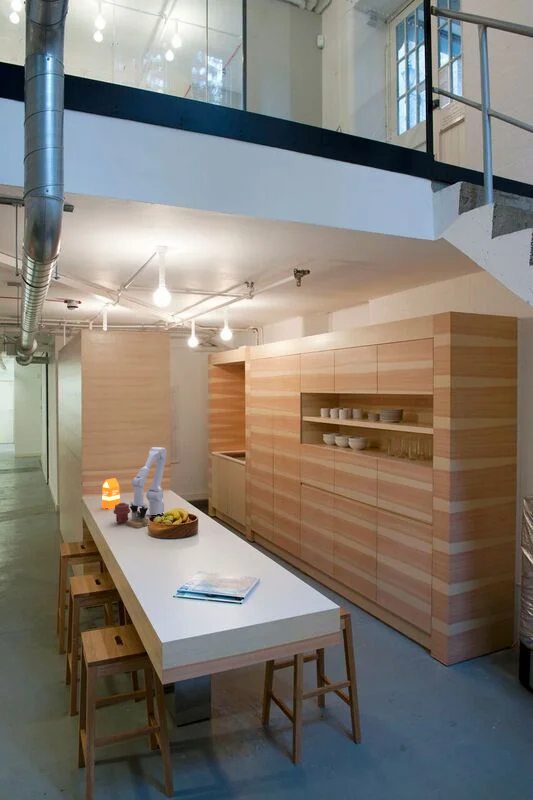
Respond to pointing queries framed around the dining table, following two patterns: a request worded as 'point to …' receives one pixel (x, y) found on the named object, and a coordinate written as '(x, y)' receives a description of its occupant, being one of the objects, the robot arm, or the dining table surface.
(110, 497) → the orange juice
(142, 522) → the stand
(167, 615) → the dining table surface
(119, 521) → the mechanical component
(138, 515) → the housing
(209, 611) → the dining table surface
